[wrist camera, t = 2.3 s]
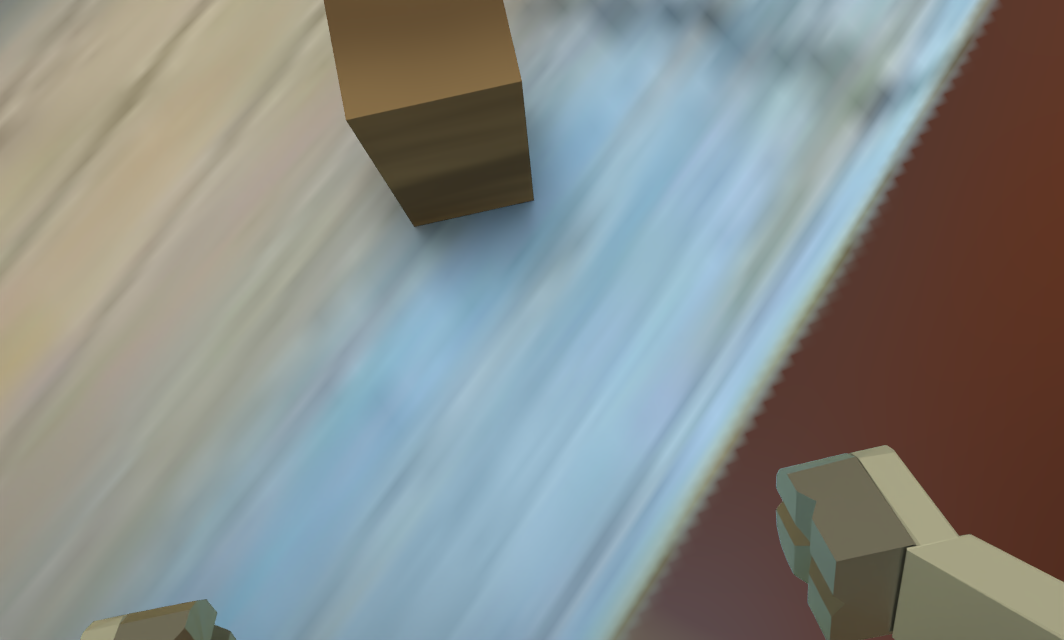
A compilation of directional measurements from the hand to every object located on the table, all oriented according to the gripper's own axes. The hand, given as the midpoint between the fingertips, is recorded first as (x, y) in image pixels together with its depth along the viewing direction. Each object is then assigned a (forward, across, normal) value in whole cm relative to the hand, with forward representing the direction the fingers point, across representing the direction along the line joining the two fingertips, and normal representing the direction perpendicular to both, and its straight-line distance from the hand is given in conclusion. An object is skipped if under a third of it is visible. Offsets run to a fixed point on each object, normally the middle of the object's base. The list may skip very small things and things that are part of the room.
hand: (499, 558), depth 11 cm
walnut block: (+20, 0, +2) cm, 20 cm away
